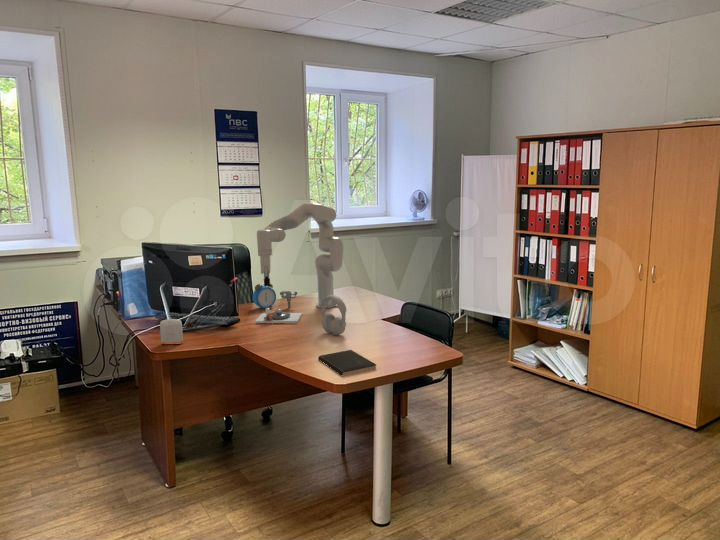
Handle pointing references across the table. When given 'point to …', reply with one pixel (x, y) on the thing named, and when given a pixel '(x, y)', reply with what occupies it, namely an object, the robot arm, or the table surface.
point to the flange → (276, 314)
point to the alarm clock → (264, 296)
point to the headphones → (329, 320)
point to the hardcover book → (347, 362)
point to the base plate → (292, 319)
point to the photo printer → (171, 330)
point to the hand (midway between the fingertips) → (267, 285)
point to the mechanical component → (288, 296)
